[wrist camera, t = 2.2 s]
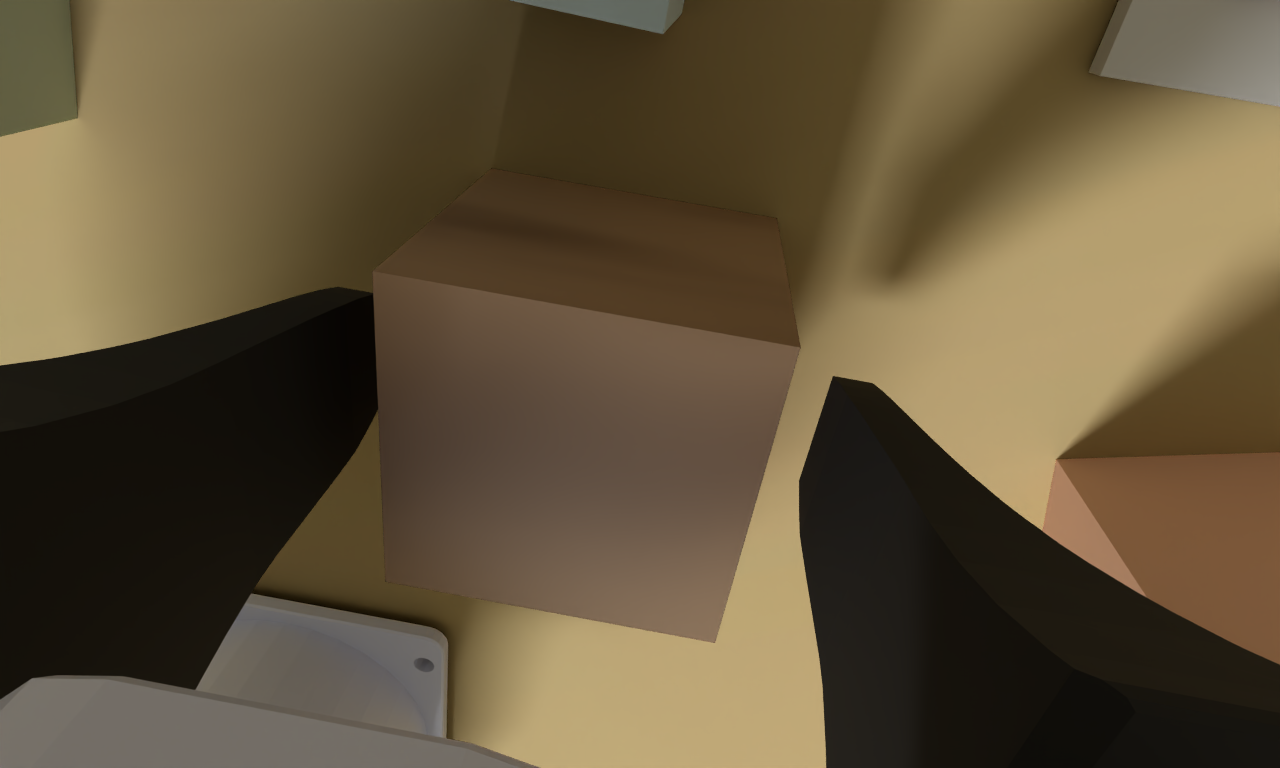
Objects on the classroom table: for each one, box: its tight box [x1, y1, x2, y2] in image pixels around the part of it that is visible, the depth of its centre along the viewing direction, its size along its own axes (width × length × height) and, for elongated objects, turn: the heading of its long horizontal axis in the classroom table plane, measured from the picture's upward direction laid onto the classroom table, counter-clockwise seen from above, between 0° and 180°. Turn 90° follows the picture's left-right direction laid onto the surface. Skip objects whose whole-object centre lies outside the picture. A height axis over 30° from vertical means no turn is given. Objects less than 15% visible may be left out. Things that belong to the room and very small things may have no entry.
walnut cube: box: [372, 168, 801, 643], centre depth 12 cm, size 5×5×5 cm
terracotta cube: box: [1042, 452, 1280, 665], centre depth 13 cm, size 5×5×5 cm
